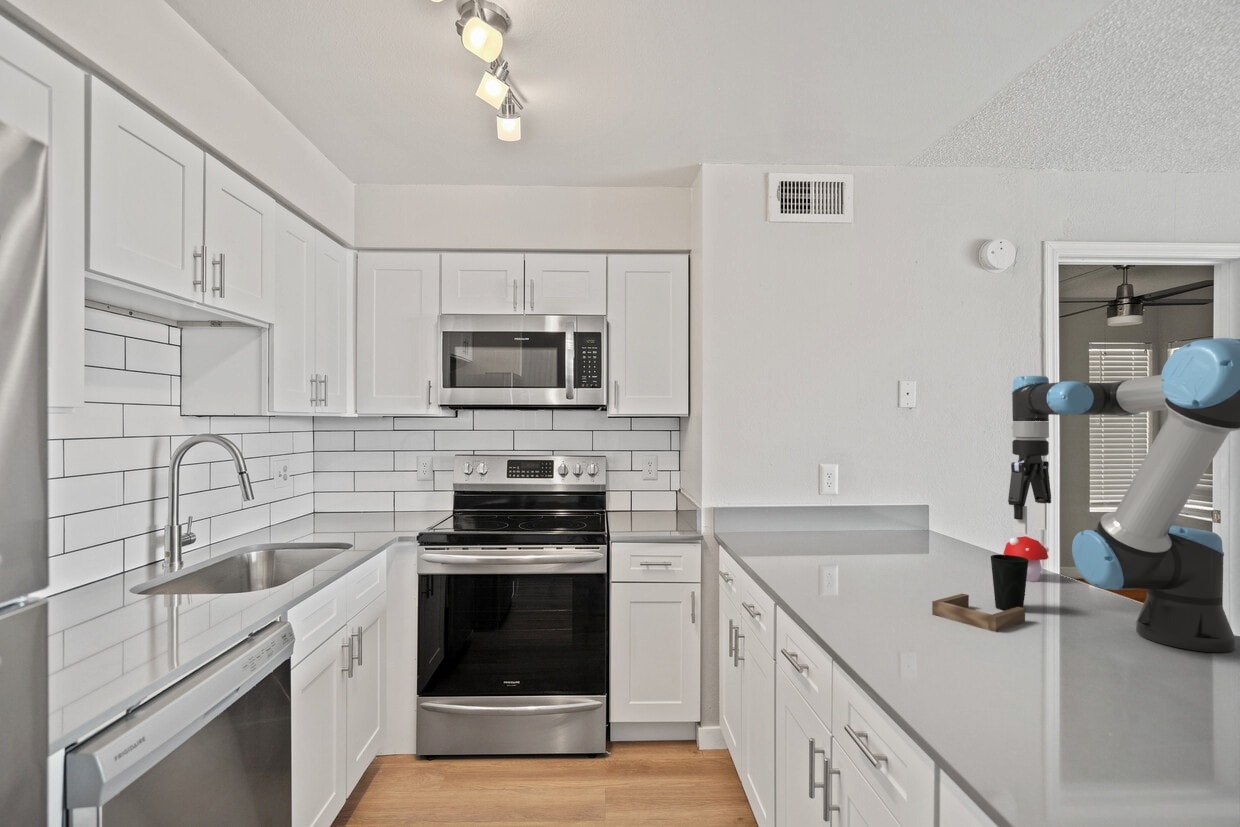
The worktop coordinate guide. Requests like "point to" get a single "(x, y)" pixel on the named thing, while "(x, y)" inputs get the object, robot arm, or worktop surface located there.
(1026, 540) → the mushroom
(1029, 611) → the worktop surface
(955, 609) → the wooden u-shaped bracket
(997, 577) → the cup
